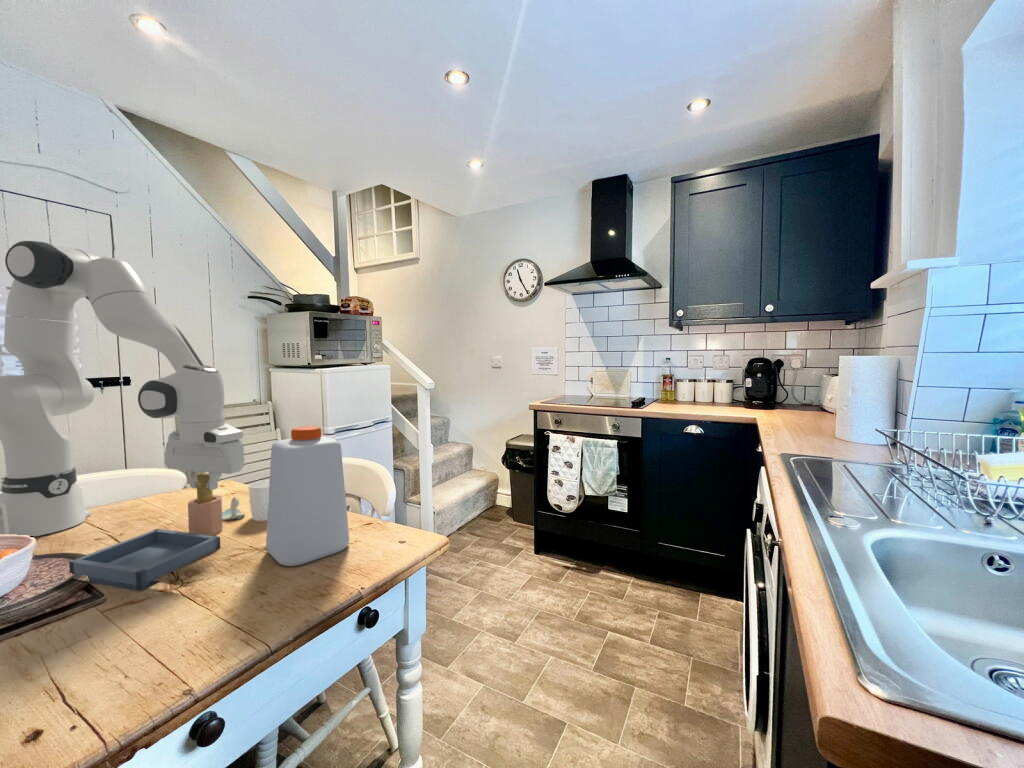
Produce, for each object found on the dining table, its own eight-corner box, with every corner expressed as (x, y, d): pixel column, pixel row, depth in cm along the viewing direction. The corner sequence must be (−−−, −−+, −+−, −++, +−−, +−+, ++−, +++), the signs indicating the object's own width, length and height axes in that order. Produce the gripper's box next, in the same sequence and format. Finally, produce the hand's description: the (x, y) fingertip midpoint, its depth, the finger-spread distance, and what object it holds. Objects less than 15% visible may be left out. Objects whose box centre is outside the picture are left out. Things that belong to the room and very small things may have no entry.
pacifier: (220, 529, 104) (247, 521, 108) (218, 505, 103) (245, 498, 108) (212, 521, 108) (238, 514, 113) (211, 498, 108) (237, 492, 112)
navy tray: (70, 579, 79) (69, 561, 79) (157, 543, 95) (157, 528, 94) (141, 591, 75) (140, 573, 75) (220, 552, 91) (220, 536, 90)
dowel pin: (195, 533, 98) (193, 476, 97) (207, 528, 101) (205, 472, 100) (205, 534, 97) (203, 476, 96) (216, 529, 100) (215, 473, 99)
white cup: (267, 526, 105) (266, 488, 104) (242, 524, 106) (241, 486, 106) (290, 515, 112) (289, 480, 112) (266, 513, 114) (265, 478, 113)
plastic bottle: (261, 549, 92) (257, 427, 91) (328, 529, 103) (326, 420, 102) (284, 573, 82) (281, 436, 80) (356, 548, 93) (354, 428, 91)
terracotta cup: (182, 539, 97) (181, 503, 96) (208, 529, 103) (207, 494, 102) (204, 542, 95) (203, 505, 95) (229, 531, 101) (228, 496, 101)
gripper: (155, 432, 97) (157, 489, 97) (225, 436, 92) (226, 496, 93) (182, 428, 103) (183, 481, 104) (248, 432, 98) (250, 487, 99)
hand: (204, 488), depth 98 cm, fingers closed on dowel pin, 3 cm apart
